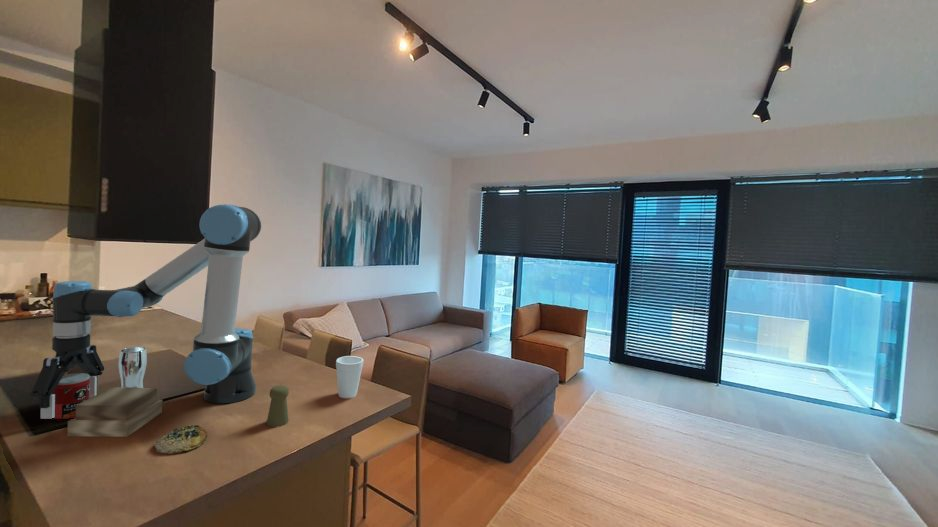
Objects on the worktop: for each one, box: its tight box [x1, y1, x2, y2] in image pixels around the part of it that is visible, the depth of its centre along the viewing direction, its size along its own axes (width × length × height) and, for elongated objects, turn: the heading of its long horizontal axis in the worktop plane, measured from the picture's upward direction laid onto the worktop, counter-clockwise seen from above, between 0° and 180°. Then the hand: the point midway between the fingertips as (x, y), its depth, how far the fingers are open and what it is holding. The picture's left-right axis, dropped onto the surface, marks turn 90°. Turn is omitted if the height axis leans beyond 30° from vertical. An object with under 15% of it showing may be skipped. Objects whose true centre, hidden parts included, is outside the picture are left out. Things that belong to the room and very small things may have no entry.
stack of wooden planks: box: [67, 386, 164, 438], centre depth 106 cm, size 14×14×8 cm
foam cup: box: [335, 355, 364, 399], centre depth 137 cm, size 10×9×13 cm
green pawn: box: [266, 384, 290, 428], centre depth 114 cm, size 6×6×11 cm
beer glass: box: [118, 346, 148, 388], centre depth 124 cm, size 7×7×15 cm
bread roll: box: [153, 424, 208, 455], centre depth 99 cm, size 11×11×5 cm
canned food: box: [52, 372, 90, 420], centre depth 109 cm, size 8×8×11 cm
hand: (70, 407), depth 109 cm, fingers open, 13 cm apart
